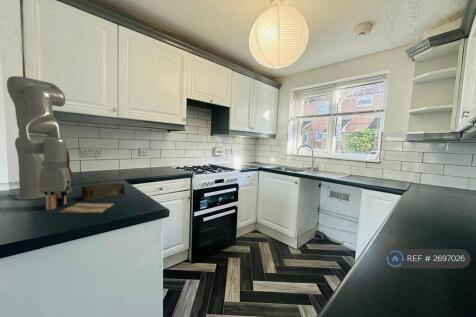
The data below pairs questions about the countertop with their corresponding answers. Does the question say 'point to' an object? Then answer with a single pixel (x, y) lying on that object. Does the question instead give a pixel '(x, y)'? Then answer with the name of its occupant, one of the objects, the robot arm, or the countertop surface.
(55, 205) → the slab
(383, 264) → the countertop surface
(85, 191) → the beverage carton
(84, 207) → the mat
